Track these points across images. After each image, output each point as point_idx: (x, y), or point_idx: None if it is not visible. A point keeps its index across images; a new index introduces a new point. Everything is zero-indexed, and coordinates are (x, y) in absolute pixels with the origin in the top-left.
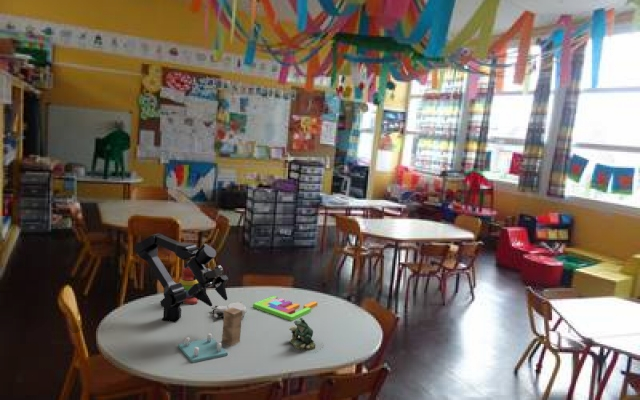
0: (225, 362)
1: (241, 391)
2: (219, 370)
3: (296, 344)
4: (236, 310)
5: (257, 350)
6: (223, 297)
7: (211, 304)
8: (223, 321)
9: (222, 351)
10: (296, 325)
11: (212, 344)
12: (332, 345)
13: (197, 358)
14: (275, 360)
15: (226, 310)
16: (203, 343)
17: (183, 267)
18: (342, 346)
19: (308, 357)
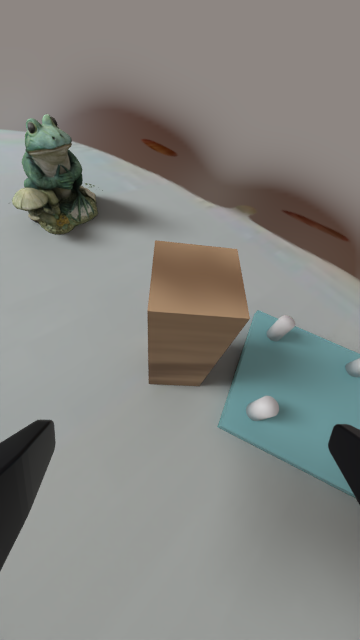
0: (284, 297)
1: (324, 227)
2: (319, 288)
3: (91, 206)
4: (179, 263)
5: None
6: (24, 506)
7: (356, 428)
8: (223, 352)
9: (265, 325)
10: (66, 151)
11: (259, 382)
12: None
13: (355, 354)
14: (186, 226)
15: (233, 309)
16: (282, 417)
17: None
18: None
19: (126, 189)
